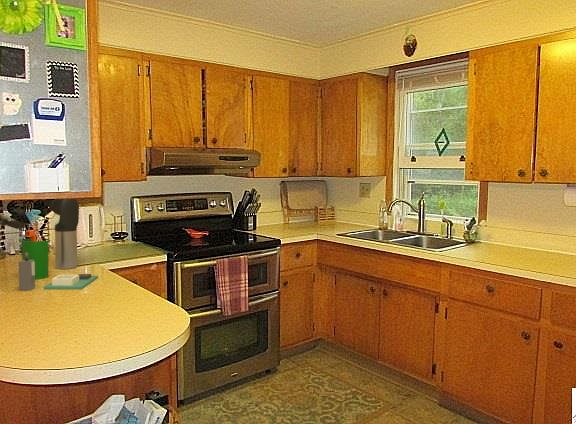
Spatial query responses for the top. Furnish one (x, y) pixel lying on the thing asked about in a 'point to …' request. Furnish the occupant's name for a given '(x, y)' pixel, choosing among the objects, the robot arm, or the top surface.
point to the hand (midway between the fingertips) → (22, 226)
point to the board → (71, 281)
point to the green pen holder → (36, 254)
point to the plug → (26, 274)
